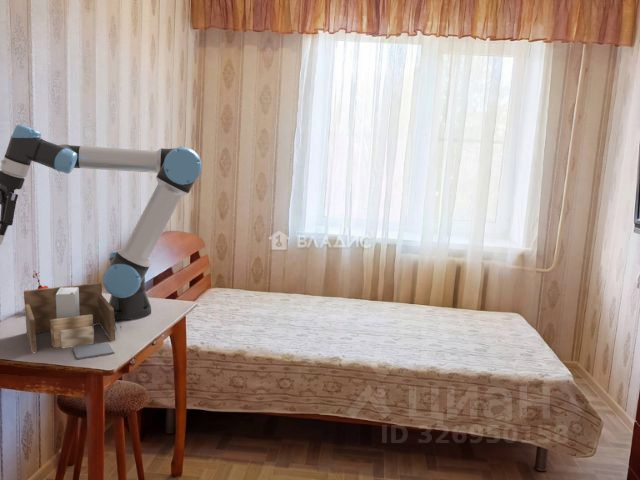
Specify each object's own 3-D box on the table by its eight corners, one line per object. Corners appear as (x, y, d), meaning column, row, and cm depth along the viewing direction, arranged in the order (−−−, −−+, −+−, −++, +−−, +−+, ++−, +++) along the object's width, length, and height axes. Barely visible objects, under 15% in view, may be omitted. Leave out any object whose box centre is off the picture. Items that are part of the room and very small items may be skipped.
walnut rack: (102, 322, 200) (100, 282, 198) (115, 340, 183) (113, 296, 181) (26, 332, 189) (23, 290, 187) (32, 352, 171) (28, 306, 169)
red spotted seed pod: (49, 313, 210) (47, 272, 208) (30, 313, 210) (27, 272, 208) (58, 307, 218) (56, 268, 216) (39, 307, 218) (36, 268, 215)
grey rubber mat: (107, 343, 180) (107, 341, 180) (114, 353, 171) (114, 351, 171) (72, 348, 175) (72, 347, 175) (77, 359, 166) (77, 357, 166)
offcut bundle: (93, 338, 184) (91, 314, 183) (96, 343, 180) (94, 317, 179) (51, 345, 178) (49, 319, 177) (53, 349, 174) (51, 323, 173)
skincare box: (61, 331, 190) (58, 287, 188) (81, 330, 192) (78, 286, 190) (57, 340, 182) (54, 293, 180) (77, 338, 184) (75, 292, 182)
